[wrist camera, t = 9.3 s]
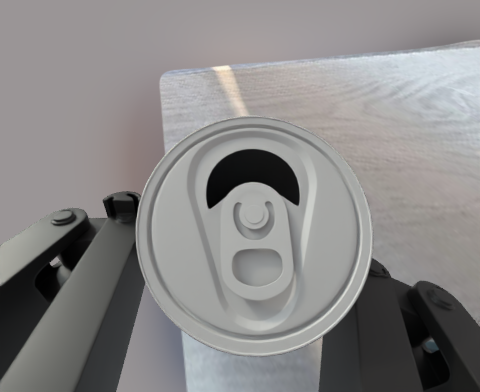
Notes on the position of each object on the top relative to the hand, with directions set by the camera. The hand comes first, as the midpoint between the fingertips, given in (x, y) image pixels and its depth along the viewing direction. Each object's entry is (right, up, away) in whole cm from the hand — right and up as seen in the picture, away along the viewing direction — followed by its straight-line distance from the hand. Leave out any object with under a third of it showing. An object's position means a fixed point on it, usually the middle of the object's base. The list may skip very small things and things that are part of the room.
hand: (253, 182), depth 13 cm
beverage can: (-1, -4, +3) cm, 5 cm away
